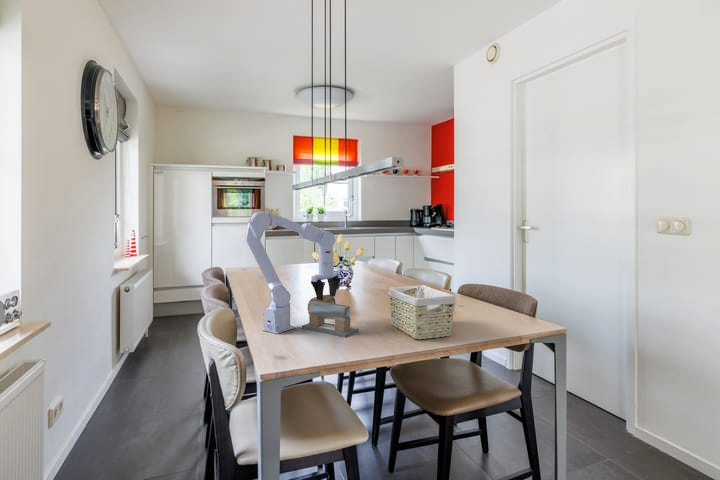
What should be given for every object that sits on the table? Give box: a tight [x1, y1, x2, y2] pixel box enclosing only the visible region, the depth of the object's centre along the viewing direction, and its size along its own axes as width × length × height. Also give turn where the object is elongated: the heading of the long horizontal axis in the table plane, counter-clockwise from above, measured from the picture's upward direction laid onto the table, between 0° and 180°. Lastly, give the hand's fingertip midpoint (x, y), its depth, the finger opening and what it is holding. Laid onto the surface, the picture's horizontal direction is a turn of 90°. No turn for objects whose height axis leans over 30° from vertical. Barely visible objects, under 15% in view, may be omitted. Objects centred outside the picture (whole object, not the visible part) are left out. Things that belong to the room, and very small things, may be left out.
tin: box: [307, 294, 336, 316], centre depth 166 cm, size 15×3×8 cm, turn 143°
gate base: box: [301, 314, 359, 338], centre depth 145 cm, size 8×20×5 cm, turn 56°
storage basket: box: [388, 284, 457, 340], centre depth 145 cm, size 24×16×15 cm
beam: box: [308, 301, 351, 321], centre depth 145 cm, size 4×16×4 cm, turn 56°
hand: (326, 297), depth 152 cm, fingers open, 7 cm apart
